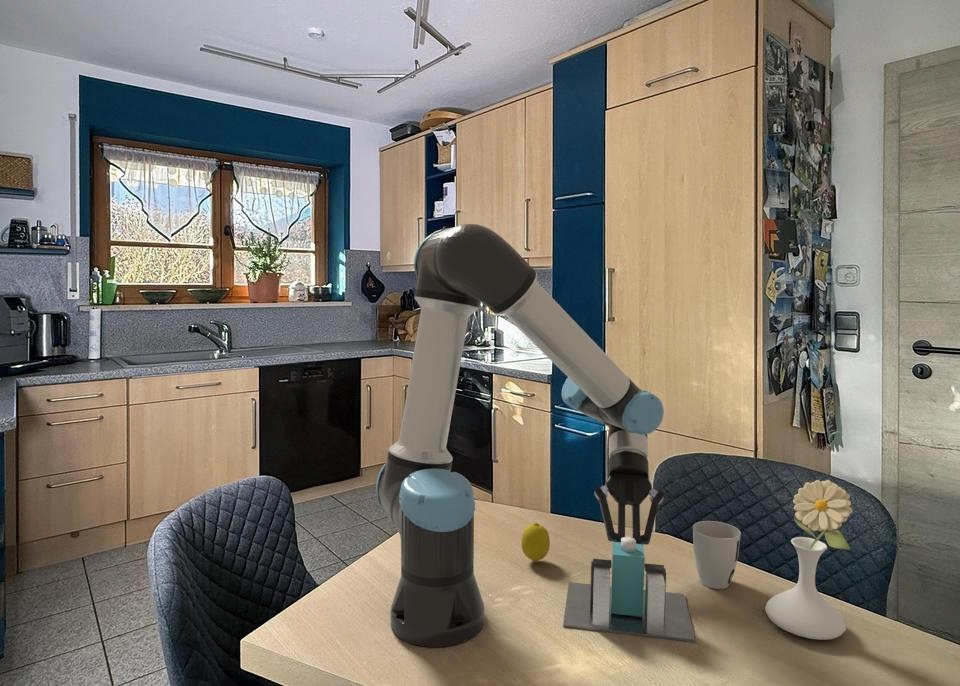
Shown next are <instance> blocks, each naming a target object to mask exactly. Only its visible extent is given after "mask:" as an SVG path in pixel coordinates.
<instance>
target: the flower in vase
mask: <svg viewBox="0 0 960 686" xmlns="http://www.w3.org/2000/svg"><path fill="white" fill-rule="evenodd" d="M850 497H851V495H850V494H849V493H847V491H846V490H845V489H843V487H841V486H839V485H838V484H836V483H835V482H832V481H831V480H830V479H826V480H821V481H820V480H819V479H816V480H815V481H813V482H808V481H807V482H805V483H804V486H803V487H800V488H799V489H798V492H797V494H794V496H793V500H792V503H793V504H794V506H793V509H794V511H796V512H795V514H794V516H793V519H794V522H795V523H796V525H797V526H799V528H800V529H801V530H803V531H804V532H806V533H807V534H809V535H810V536H812V537H813V538H812V537H806V536H805V537H804V536H798V537H797V536H796V537H793V538H791V540H790V542H791V544H792V545H793V547H794V549H795V551H796V553H797V558H798V559H797V560H798V565H799V566H798V567H799V570H798V571H799V573H798V581H797V583H796V585H795V586H794V587H793V588H790V589H788V590H784V591H782V592H779V593H777V594H775V595H774V596H772V597H771V598H770V599H769V600H768V601H767V603H766V604H765V607H764V610H765V612H766V615H767V616H768V618H769V619H770V621H771V622H772V623H774V624H775V626H777V627H779V628H781V629H782V630H784V631H786V632H788V633H790V634H792V635H795V636H799V637H803V638H806V639H810V640H821V641H822V640H825V641H826V640H827V641H828V640H833V639H836V638H839V637H840V636H841V635H843V634H844V633H845V632H846V630H847V624H846V621H845V618H844V616H843V615H842V614H841V613H840V611H839V610H838V609H837V608H836V607H835V606H834V605H833V604H832V603H831V602H829V600H827V599H826V598H824V596H823V595H821V594H820V592H818V590H817V587H816V571H817V565H818V562H819V559H820V557H821V555H823V553H824V552H825V551H826V550H827V549H828V546H829V547H830V548H834V549H840V550H851V547H850V546H849V543H848V541H847V540H846V538H845V537H844V535H843V534H842V533H841V532H840V531H839V530H838V529H839V528H841V527H842V524H843V523H845V522H848V518H849V517H850V514H851V515H852V513H853V508H851V507H850V506H851V505H852V502H851V500H850ZM816 531H818V532H821V533H820V534H819V535H818V536H817V537H816V535H815V534H814V533H813V532H816ZM823 536H824V538H825V540H826V542H827V544H826V543H825V542H822V541H820V539H821V538H822V537H823ZM827 545H828V546H827Z"/></svg>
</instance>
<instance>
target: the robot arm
mask: <svg viewBox="0 0 960 686" xmlns="http://www.w3.org/2000/svg"><path fill="white" fill-rule="evenodd" d="M413 259H414V260H413V269H414V273H415V276H416V277H415V278H417V280H416V287H415V294H414V300H415V301H416V302H417V304H418V305H419V307H420V314H419V320H418V321H419V322H418V326H417V333H416V337H415V345H414V349H413V357H412V361H411V368H410V372H409V378H408V379H409V380H408V386H407V391H406V397H405V402H404V408H403V414H402V422H401V424H400V425H401V426H400V431H399V438H398V440H397V441H396V442H395V443H393V444H392V445H391V446H389V447H388V451H387V459H386V462H385V463H384V464H383V465H382V467H381V469H380V470H379V472H378V475H377V479H376V484H375V491H376V497H377V500H378V504H379V505H380V508H381V509H382V511H383V512H384V514H385V515H386V516H387V517H388V519H389V521H390V522H391V523H392V525H393V526H394V528H395V530H396V531H397V532H398V534H399V536H400V571H401V572H400V578H399V581H398V584H397V587H396V591H395V594H394V598H393V601H392V603H391V606H390V627H391V629H392V632H393V633H394V634H395V635H396V636H397V637H398V638H399V639H402V640H403V641H404V642H407V643H409V644H411V645H415V646H420V647H427V648H440V647H441V648H442V647H451V646H455V645H457V644H461V643H463V642H466V641H468V640H470V639H472V638H473V637H475V636H476V635H477V634H478V633H479V632H480V631H481V630H482V629H483V626H484V624H485V604H484V600H483V597H482V594H481V591H480V588H479V585H478V582H477V580H476V576H475V573H474V572H475V571H474V567H475V566H474V565H475V563H474V558H475V555H474V553H475V551H474V550H475V549H474V548H475V511H476V502H475V497H474V489H473V486H472V484H471V481H469V480H468V479H467V478H466V477H465V476H464V475H462V474H461V473H459V472H456V471H452V465H453V458H454V457H453V456H452V454H451V453H450V452H449V450H448V448H447V444H448V437H449V432H450V426H451V420H452V414H453V410H454V404H455V398H456V392H457V391H456V390H457V386H458V381H459V374H460V370H461V369H460V368H461V363H462V356H463V351H464V345H465V341H466V334H467V327H468V323H469V318H470V316H471V315H473V314H475V313H476V312H477V311H478V310H479V307H480V304H483V305H484V306H486V307H487V308H488V309H489V310H490V311H491V312H492V313H493V314H494V315H496V316H498V315H501V316H502V315H504V316H505V317H506V318H507V319H508V320H509V321H510V322H511V323H512V324H513V325H514V326H515V327H516V328H517V329H518V330H519V331H521V332H522V334H524V336H525V337H527V339H528V340H529V341H530V342H532V343H533V344H534V346H536V347H537V349H539V350H540V351H541V352H542V353H543V355H545V356H546V358H548V359H549V360H550V361H551V362H552V363H553V364H554V365H555V366H556V367H557V368H558V369H559V370H560V371H561V372H562V373H563V374H564V375H565V376H566V377H567V378H566V379H565V381H564V384H563V385H562V389H561V398H562V401H563V402H564V404H566V405H568V406H569V407H571V408H572V409H573V410H576V411H578V412H579V413H582V414H584V415H585V416H588V417H589V418H591V419H593V420H595V421H596V422H599V423H601V424H602V425H604V426H607V427H608V457H609V459H608V477H607V480H605V484H604V485H603V486H600V487H599V486H595V488H594V497H595V499H596V500H597V502H598V503H599V505H600V512H601V515H602V519H603V524H604V528H605V533H606V538H607V540H608V541H609V542H612V543H613V542H621V538H623V537H626V506H631V514H632V515H631V516H632V517H631V518H632V519H631V520H632V521H631V523H632V538H634V539H635V540H636V544H643V546H644V545H645V546H646V545H647V546H648V545H649V544H650V543H651V539H652V535H653V534H652V533H653V530H654V526H655V520H656V517H657V513H658V508H659V507H660V506H661V504H662V503H663V502H664V497H665V493H664V492H663V490H662V491H660V490H659V491H658V490H656V489H655V488H653V485H652V483H651V482H650V477H649V476H650V475H649V474H650V472H649V471H650V469H649V460H648V459H649V443H648V442H649V440H648V435H649V434H652V433H653V432H655V431H656V430H657V429H658V428H659V427H660V425H661V423H662V421H663V419H664V413H665V411H664V406H663V402H662V401H661V399H660V398H659V397H658V396H657V395H655V394H653V393H651V392H650V391H648V390H642V389H641V388H639V387H638V385H637V384H636V383H635V382H634V381H633V380H632V379H630V377H629V376H627V374H625V373H624V372H623V370H622V369H621V368H620V367H619V366H618V365H617V364H616V363H615V362H614V361H613V360H612V359H611V358H610V357H609V356H608V354H606V353H605V352H604V350H603V349H602V348H601V347H600V346H598V344H597V343H596V342H595V341H594V340H593V339H592V338H591V337H590V335H588V333H586V331H584V329H583V328H582V327H580V325H579V324H578V323H577V322H576V321H575V320H574V319H573V318H572V317H571V316H570V315H569V314H568V313H567V311H565V310H564V308H562V306H561V305H560V304H559V303H558V302H557V301H556V300H555V299H554V298H553V297H552V296H551V295H550V294H549V293H548V291H546V289H544V288H543V286H541V284H539V282H538V272H537V271H536V270H535V269H534V268H533V267H532V266H531V265H530V264H529V262H528V261H527V260H526V259H525V258H524V257H522V255H521V254H520V253H519V252H518V251H517V250H516V249H515V248H514V247H513V246H512V245H511V244H509V242H507V241H506V240H505V239H504V238H503V237H502V236H501V235H499V234H498V233H497V232H495V231H493V230H492V229H490V228H489V227H487V226H485V225H484V226H483V225H481V224H477V223H465V224H460V225H457V226H455V227H446V228H445V227H444V228H442V229H441V228H440V229H439V230H436V231H434V232H433V233H431V234H430V235H428V236H427V237H425V238H424V239H423V240H422V241H421V243H420V244H419V246H418V247H417V249H416V251H415V255H414V258H413ZM608 493H609V495H610V496H611V497H612V498H613V500H614V501H615V502H616V503H617V532H616V531H615V528H614V524H613V520H612V515H611V511H610V508H609V503H608V499H607V498H608ZM648 496H650V497H649V500H650V502H651V503H650V508H649V513H648V517H647V520H646V524H645V530H644V533H643V534H641V516H640V515H641V514H640V513H641V507H640V505H641V504H643V502H644V500H646V498H647V497H648Z"/></svg>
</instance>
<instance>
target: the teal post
mask: <svg viewBox="0 0 960 686" xmlns="http://www.w3.org/2000/svg"><path fill="white" fill-rule="evenodd" d="M611 552H612V553H611V556H612V557H611V558H612V559H611V560H612V568H611V585H610V586H611V613H613V614H622V615H631V616H639V617H643V598H644V590H645V563H646V562H645V561H646V560H645V559H646V555H645V547H644V545H643V544H636V540H635V539H634V538H633V537H632V536H631V537H630V536H625V537H623V538H621V542H613V541H612V551H611Z"/></svg>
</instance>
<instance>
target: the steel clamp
mask: <svg viewBox="0 0 960 686" xmlns="http://www.w3.org/2000/svg"><path fill="white" fill-rule="evenodd" d="M611 569H612V559H602V558H592V561H590V583H584V582H583V583H581V582H571V581H569V582H568V585H567V593H566V600H565V607H564V608H565V609H564V616H563V623H562V627H563V628H564V627H565V628H572V629H579V630H588V631H597V632H604V633H613V634H614V633H615V634H621V635H622V634H623V635H629V636H637V637H638V636H639V637H646V638H647V637H648V638H655V639H665V640H671V641H672V640H673V641H680V642H689V643H696V638H695V633H694V629H693V626H692V621H691V617H690V612H689V609H688V605H687V600H686V596H685V593H678V592H677V593H676V592H668V591H667V589H666V588H667V571H666V568H665V565H663V564H656V563H655V564H654V563H646V562H645V567H644V572H645V583H644V598H643V617H639V616H631V615H622V614H613V613H611V586H612V585H611Z"/></svg>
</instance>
